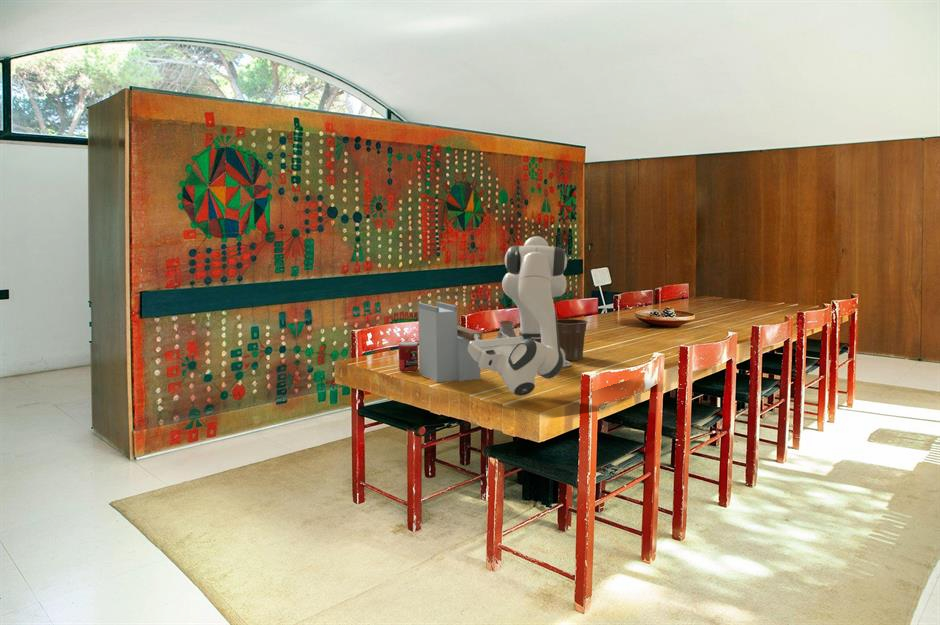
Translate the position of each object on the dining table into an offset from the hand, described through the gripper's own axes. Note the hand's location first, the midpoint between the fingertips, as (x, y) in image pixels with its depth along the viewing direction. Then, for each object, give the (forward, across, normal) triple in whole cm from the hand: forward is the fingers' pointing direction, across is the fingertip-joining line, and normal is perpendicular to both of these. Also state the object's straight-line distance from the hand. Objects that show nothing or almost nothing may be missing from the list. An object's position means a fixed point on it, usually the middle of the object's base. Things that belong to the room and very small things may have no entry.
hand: (487, 334), depth 251 cm
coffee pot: (+42, -43, +46) cm, 76 cm away
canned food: (+27, +14, +38) cm, 49 cm away
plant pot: (+19, -56, +34) cm, 68 cm away
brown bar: (+15, 0, +13) cm, 20 cm away
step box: (+11, +4, +29) cm, 31 cm away
